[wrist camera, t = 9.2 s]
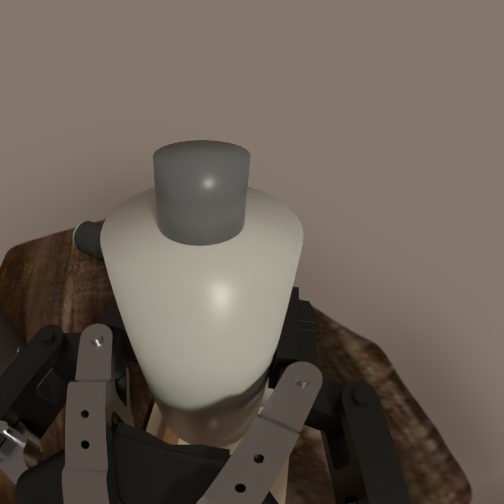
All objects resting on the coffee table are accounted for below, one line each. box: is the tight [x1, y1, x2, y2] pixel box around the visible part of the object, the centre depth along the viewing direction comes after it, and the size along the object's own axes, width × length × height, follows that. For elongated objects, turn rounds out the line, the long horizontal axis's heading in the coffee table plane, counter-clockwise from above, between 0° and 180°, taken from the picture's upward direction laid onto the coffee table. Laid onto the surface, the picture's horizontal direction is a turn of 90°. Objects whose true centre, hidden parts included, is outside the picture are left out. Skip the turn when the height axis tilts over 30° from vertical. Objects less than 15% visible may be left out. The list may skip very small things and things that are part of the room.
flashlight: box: [73, 220, 104, 259], centre depth 44 cm, size 15×5×5 cm, turn 67°
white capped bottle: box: [100, 140, 304, 448], centre depth 10 cm, size 5×5×13 cm
